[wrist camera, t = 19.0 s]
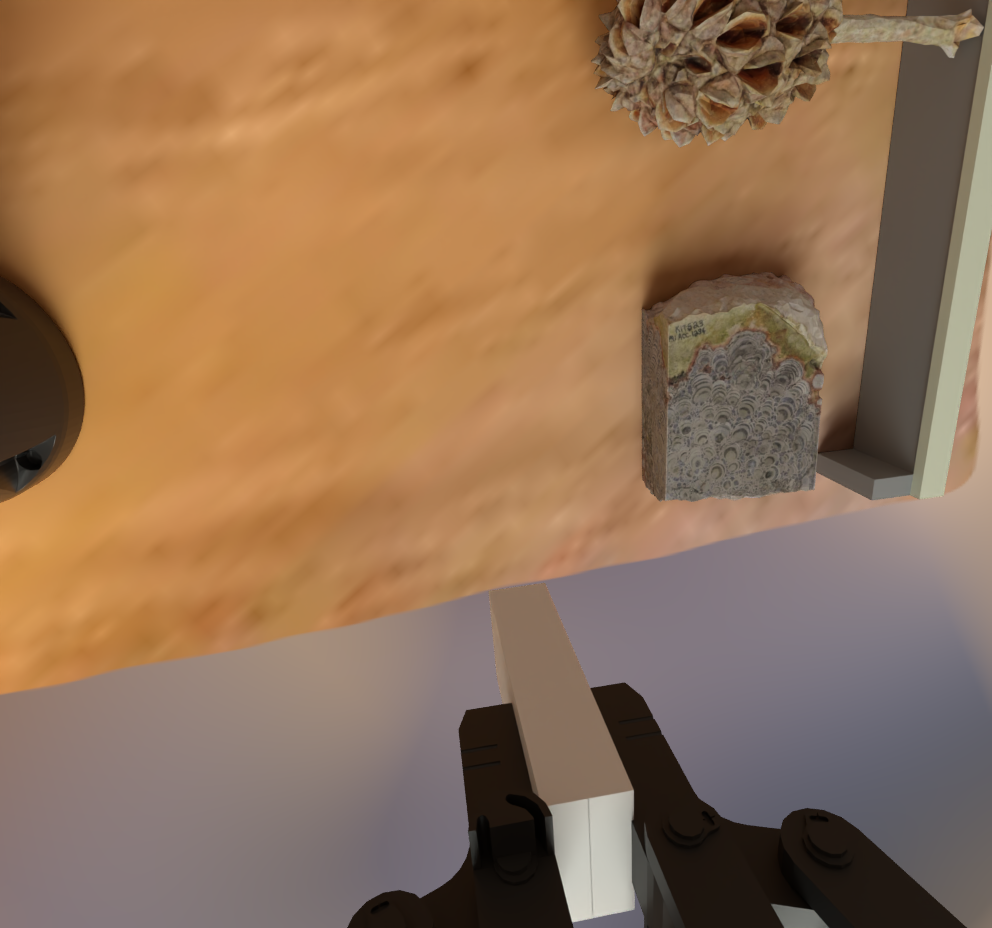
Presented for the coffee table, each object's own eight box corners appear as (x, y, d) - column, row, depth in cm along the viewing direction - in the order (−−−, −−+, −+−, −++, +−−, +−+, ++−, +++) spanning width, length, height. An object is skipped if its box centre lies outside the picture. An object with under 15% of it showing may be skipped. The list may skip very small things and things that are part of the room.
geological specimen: (666, 521, 40) (668, 293, 35) (636, 485, 46) (633, 284, 40) (816, 498, 41) (842, 272, 35) (769, 466, 47) (785, 266, 41)
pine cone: (577, 174, 37) (634, 144, 28) (559, -10, 34) (616, -114, 25) (904, 123, 39) (1060, 78, 30) (915, -57, 36) (1095, -171, 26)
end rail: (815, 471, 46) (880, 504, 40) (882, -191, 33) (995, -299, 27) (870, 464, 47) (943, 496, 40) (958, -191, 34) (1086, -298, 27)
